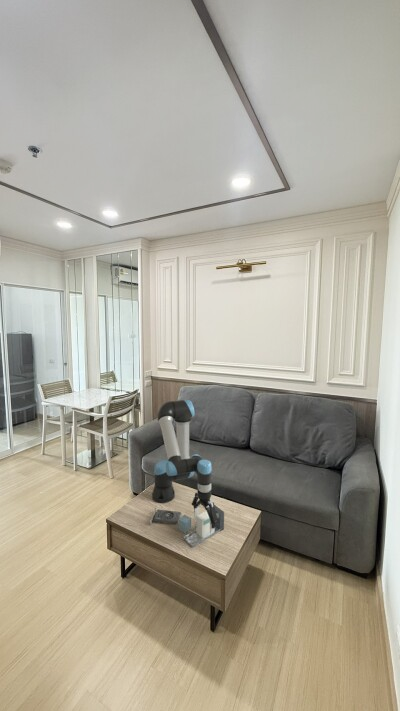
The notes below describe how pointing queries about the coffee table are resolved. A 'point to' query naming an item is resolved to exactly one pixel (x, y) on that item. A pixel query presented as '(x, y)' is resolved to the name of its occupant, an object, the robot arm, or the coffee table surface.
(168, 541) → the coffee table surface
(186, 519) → the block
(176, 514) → the graphics card
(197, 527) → the block
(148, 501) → the coffee table surface
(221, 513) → the rail
